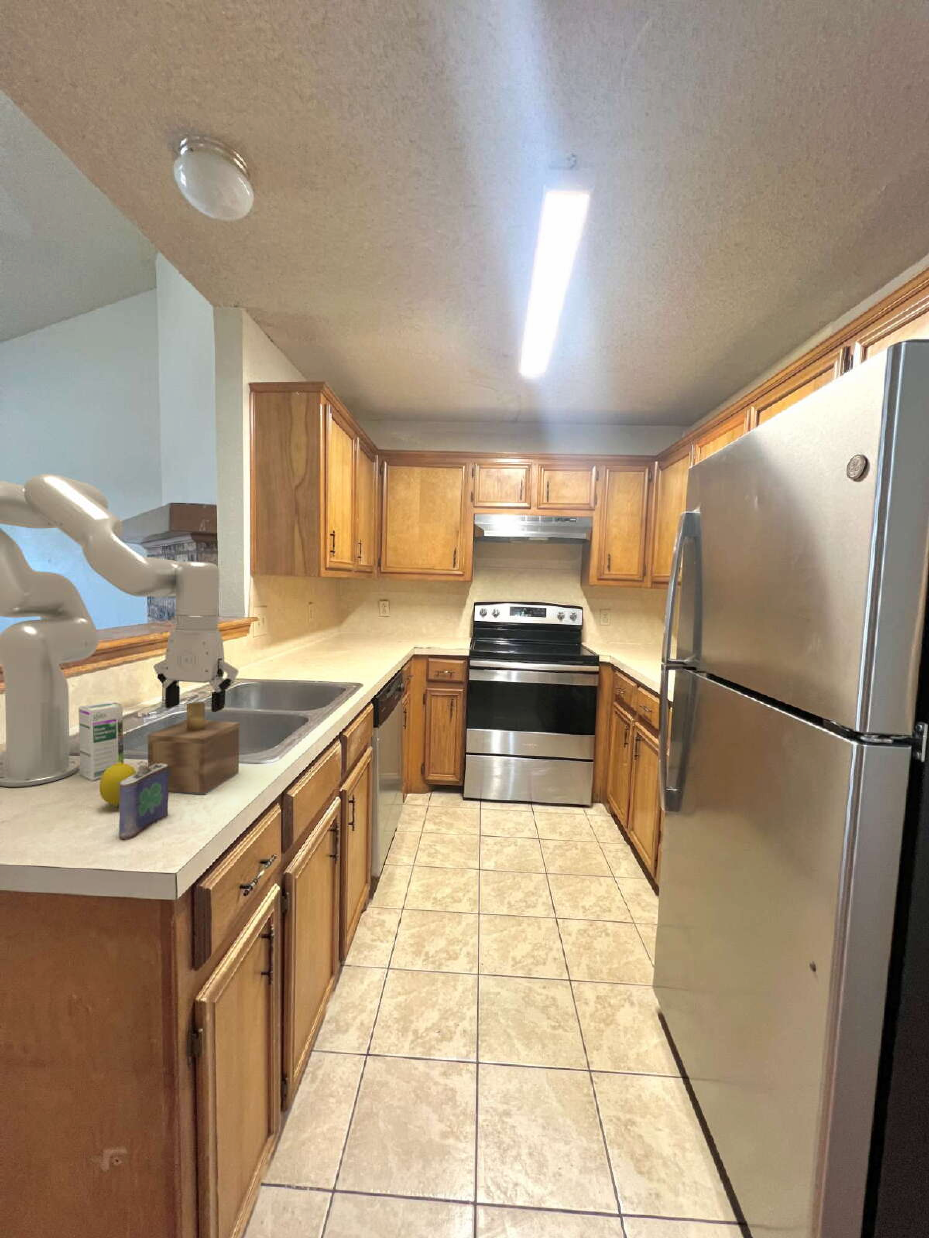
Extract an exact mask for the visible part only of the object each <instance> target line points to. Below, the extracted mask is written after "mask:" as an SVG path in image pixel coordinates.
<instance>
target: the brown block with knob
mask: <svg viewBox="0 0 929 1238" xmlns="http://www.w3.org/2000/svg"><path fill="white" fill-rule="evenodd" d="M239 747H240V722H237V721H224V720H222V721H221V720H207V719H206V703H205V702H201V701H198V702H197V701H196V702H195V701H194V702H188V703H187V704H186V720H182V721H180V722H178V723H175V724H172V725H170V726H167V727H165V728H162V729H159V730H156V731H154V732H151V733H149V734H147V764H148V763H149V765H147V766H148V767H150V766H153V765H154V764H160V763H162V764H168V765H169V777H168V790H170V791H183V792H195V793H205V792H207V791H208V790H210V789H211V788H213V787H214V786H216V785H218V784H219V783H221V782H222V781H224V780H225V779H227V778H228V777H230V776H231V775H233V774H234V773H236V772H238V773H239V771H240V770H239V763H240V762H239V761H240V760H239V759H240V755H239V754H240V753H239V752H240V749H239Z"/></svg>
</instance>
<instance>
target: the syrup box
mask: <svg viewBox="0 0 929 1238" xmlns="http://www.w3.org/2000/svg"><path fill="white" fill-rule="evenodd" d="M123 710H124V709H123V705H122V704H120V703H118V702H116V701H111V700H110V701H106V702H101V703H95V704H88V705H80V706H78V730H79V731H78V733H79V740H78V741H79V772H80V775H81V776H82V777H84V778H86V779H88V780H89V781H91V782H92V781H96V780H98V779H99V780H100V779H101V777H102V775H103V773H104V772H105V771H106V770H107V769H108V768H109V767H111V766H113V765H115V764H116V763H117V762H122V763H124V723H123V722H124V720H123V717H124V714H123V713H124V711H123Z"/></svg>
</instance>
